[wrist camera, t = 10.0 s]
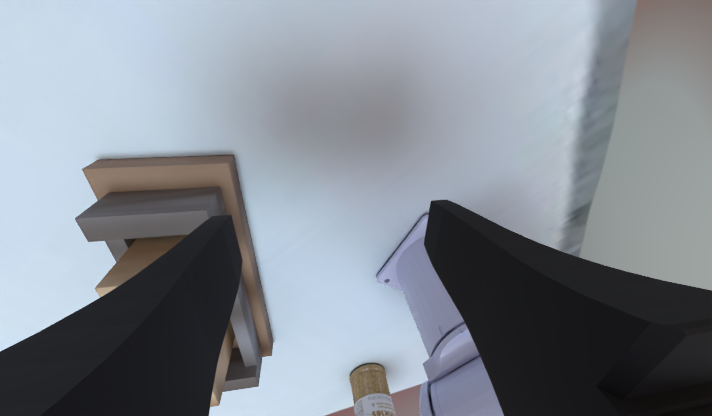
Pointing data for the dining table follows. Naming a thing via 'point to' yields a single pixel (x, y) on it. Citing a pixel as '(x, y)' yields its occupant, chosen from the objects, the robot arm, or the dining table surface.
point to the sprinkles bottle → (371, 392)
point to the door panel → (139, 259)
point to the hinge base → (183, 231)
